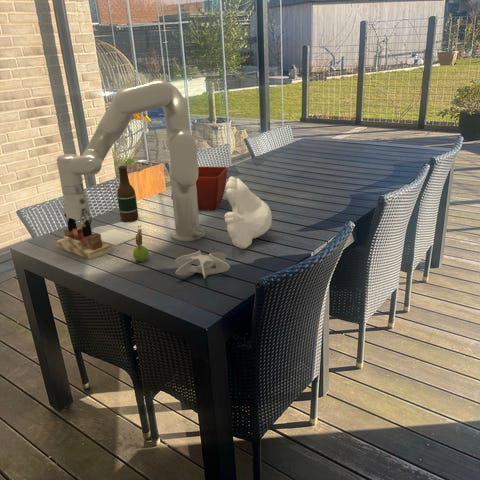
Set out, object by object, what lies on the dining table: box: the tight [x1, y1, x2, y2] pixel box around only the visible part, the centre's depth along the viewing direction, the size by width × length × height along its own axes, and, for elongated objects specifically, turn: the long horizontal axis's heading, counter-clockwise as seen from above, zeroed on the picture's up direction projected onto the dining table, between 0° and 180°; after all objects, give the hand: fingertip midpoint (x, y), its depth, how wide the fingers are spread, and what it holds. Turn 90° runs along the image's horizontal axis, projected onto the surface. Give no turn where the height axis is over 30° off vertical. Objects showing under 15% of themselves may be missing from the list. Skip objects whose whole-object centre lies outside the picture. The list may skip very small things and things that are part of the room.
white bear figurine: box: [224, 176, 273, 250], centre depth 177 cm, size 25×16×25 cm
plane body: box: [56, 227, 112, 261], centre depth 180 cm, size 22×9×8 cm, turn 50°
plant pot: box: [196, 166, 228, 211], centre depth 222 cm, size 19×19×17 cm
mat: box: [100, 228, 136, 247], centre depth 191 cm, size 16×11×1 cm
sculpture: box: [174, 250, 231, 280], centre depth 157 cm, size 18×20×6 cm
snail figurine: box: [132, 225, 150, 262], centre depth 167 cm, size 5×6×12 cm
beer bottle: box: [116, 165, 139, 223], centre depth 208 cm, size 8×8×24 cm
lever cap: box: [73, 225, 89, 247], centre depth 180 cm, size 8×5×6 cm, turn 50°
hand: (80, 233), depth 179 cm, fingers open, 9 cm apart
